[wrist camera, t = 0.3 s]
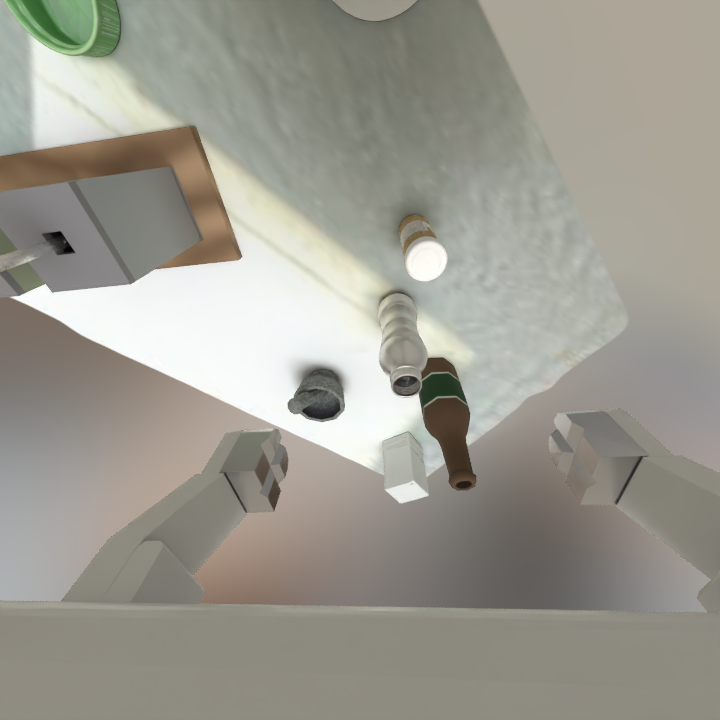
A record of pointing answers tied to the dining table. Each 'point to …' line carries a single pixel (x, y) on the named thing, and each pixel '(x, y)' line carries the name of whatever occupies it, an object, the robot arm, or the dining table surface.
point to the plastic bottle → (401, 345)
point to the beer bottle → (447, 419)
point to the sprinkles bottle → (421, 249)
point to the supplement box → (404, 468)
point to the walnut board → (133, 156)
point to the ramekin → (70, 24)
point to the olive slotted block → (17, 271)
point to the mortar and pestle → (319, 397)
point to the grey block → (102, 226)
